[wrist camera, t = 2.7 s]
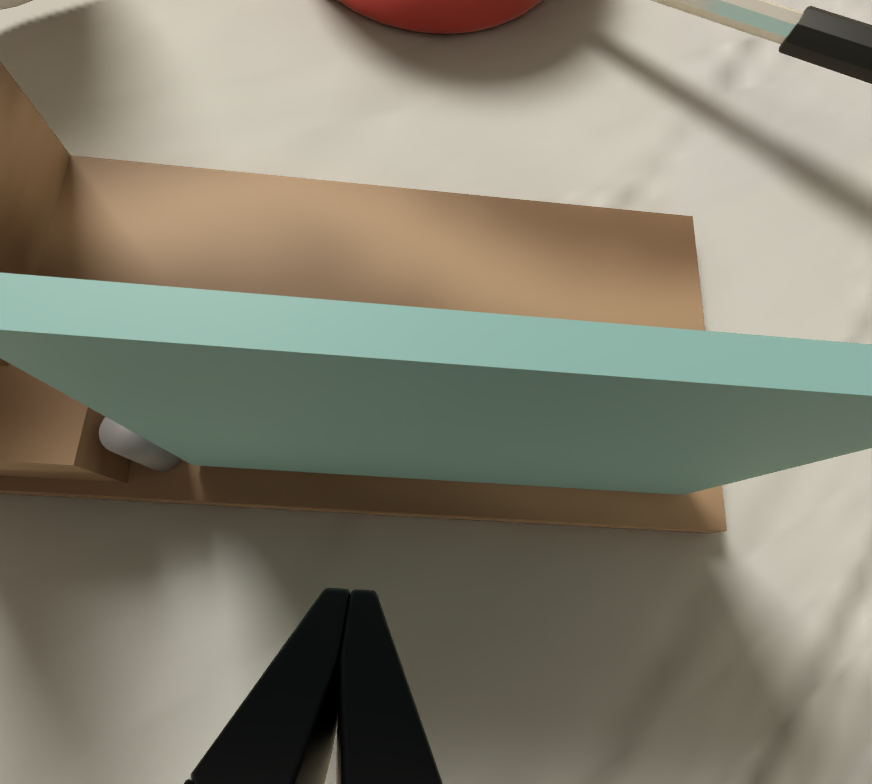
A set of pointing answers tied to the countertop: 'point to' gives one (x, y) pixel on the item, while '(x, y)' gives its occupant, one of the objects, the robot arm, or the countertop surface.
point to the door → (432, 388)
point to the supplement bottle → (11, 3)
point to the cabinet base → (321, 279)
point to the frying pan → (722, 3)
